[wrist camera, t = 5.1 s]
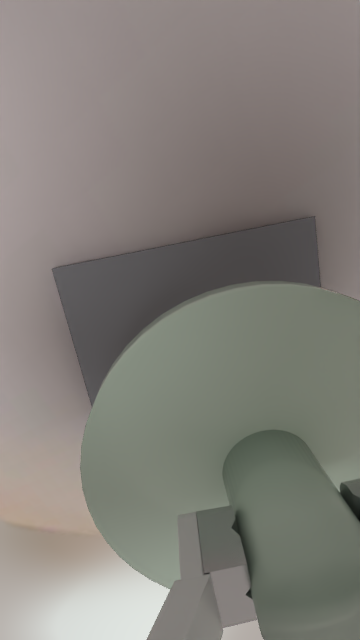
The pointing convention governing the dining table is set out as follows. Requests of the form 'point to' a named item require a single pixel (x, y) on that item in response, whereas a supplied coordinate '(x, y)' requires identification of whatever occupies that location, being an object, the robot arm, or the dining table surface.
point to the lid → (240, 446)
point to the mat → (172, 284)
